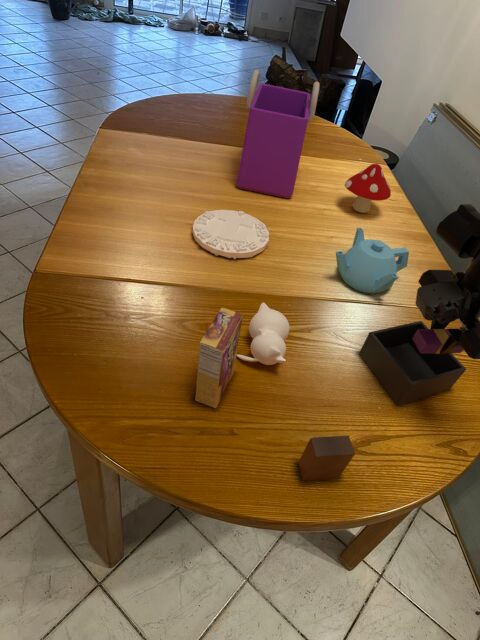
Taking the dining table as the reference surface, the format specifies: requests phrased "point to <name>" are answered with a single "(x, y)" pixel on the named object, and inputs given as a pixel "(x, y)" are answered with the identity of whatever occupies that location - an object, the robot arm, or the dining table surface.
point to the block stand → (325, 458)
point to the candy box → (217, 356)
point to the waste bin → (408, 364)
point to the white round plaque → (230, 233)
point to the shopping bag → (274, 137)
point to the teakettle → (370, 264)
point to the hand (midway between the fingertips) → (436, 345)
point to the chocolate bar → (432, 340)
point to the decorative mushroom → (368, 187)
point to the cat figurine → (268, 336)
